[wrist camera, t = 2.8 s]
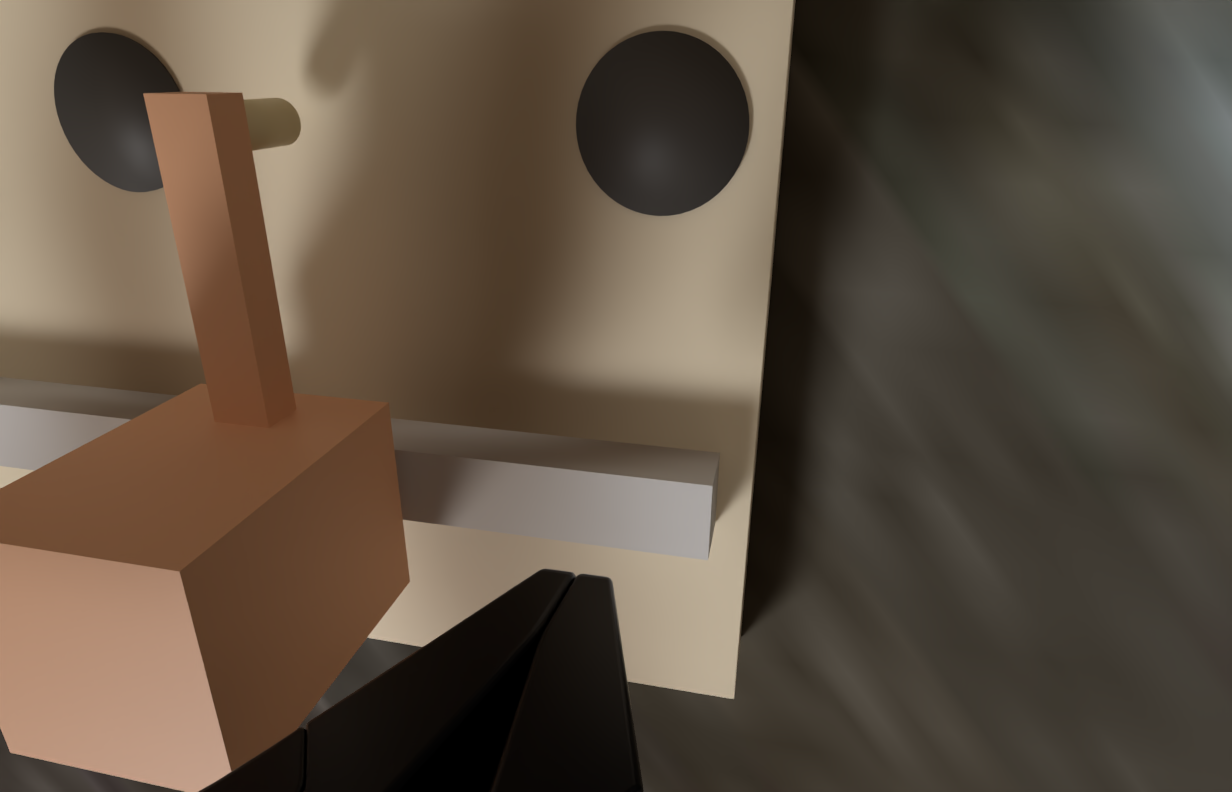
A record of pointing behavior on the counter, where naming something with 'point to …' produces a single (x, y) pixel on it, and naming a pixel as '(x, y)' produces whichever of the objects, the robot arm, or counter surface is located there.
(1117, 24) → the counter surface
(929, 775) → the counter surface
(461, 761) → the robot arm
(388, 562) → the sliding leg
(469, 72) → the hole plate
